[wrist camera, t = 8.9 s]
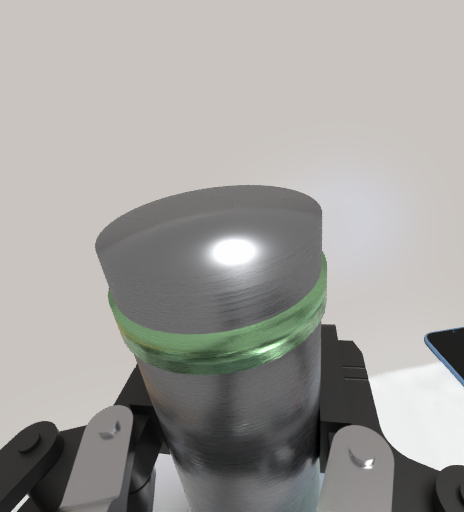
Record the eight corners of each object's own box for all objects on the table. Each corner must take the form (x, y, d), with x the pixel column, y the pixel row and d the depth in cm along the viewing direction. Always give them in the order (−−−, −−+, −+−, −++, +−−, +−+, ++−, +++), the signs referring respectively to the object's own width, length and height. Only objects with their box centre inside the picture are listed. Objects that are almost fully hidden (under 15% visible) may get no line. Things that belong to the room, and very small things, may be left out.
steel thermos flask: (318, 469, 14) (319, 177, 8) (327, 625, 10) (344, 276, 4) (217, 458, 15) (149, 191, 9) (189, 596, 11) (29, 280, 5)
